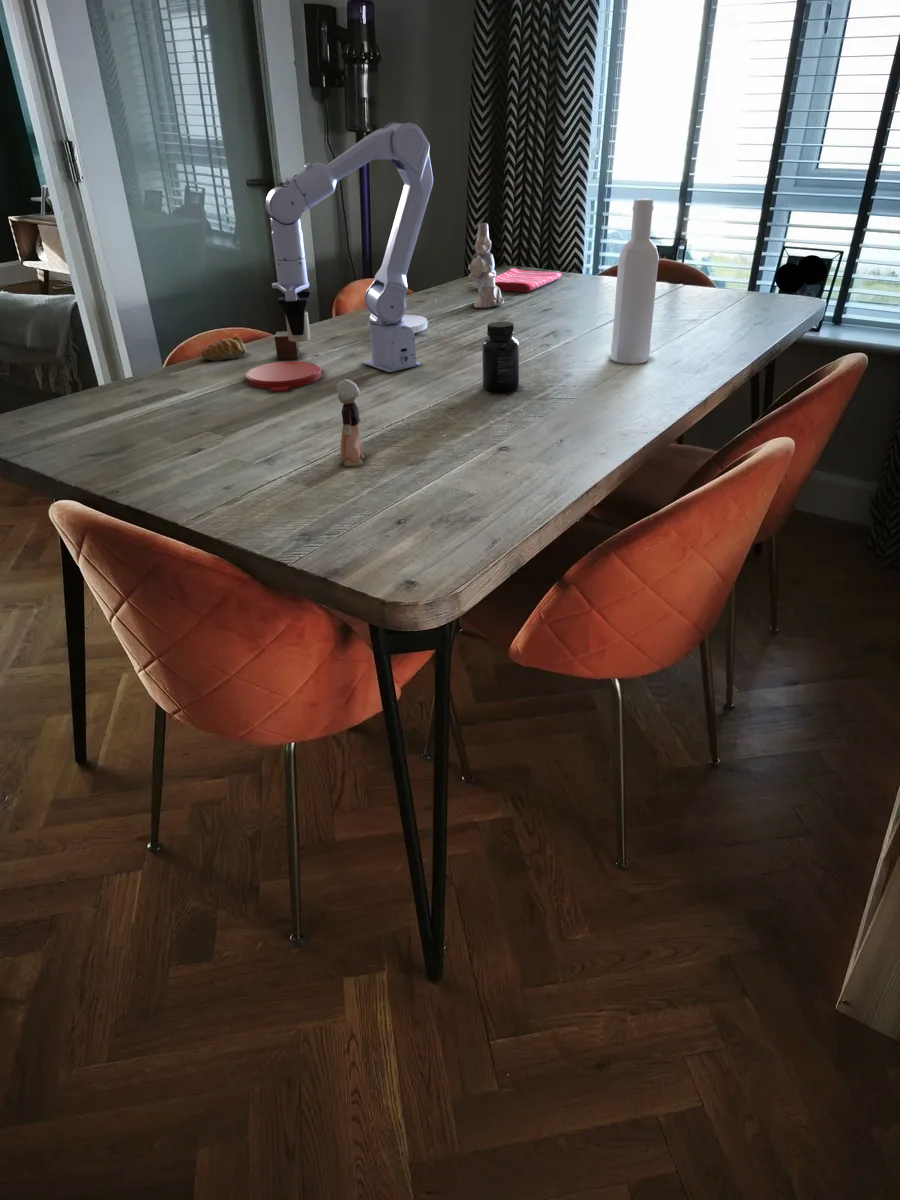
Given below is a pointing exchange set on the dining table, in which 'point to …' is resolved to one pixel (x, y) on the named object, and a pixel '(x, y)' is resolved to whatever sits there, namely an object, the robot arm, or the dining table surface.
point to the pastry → (225, 349)
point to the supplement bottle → (500, 359)
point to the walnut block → (286, 347)
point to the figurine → (484, 271)
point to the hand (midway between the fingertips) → (299, 331)
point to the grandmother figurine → (350, 424)
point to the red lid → (283, 375)
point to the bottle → (635, 290)
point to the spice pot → (305, 335)
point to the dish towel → (524, 279)
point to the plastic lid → (415, 323)
